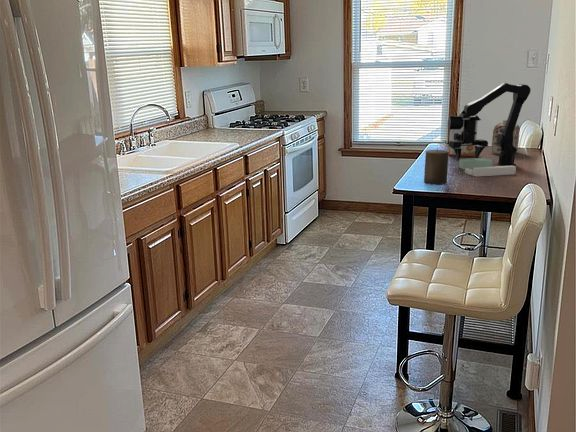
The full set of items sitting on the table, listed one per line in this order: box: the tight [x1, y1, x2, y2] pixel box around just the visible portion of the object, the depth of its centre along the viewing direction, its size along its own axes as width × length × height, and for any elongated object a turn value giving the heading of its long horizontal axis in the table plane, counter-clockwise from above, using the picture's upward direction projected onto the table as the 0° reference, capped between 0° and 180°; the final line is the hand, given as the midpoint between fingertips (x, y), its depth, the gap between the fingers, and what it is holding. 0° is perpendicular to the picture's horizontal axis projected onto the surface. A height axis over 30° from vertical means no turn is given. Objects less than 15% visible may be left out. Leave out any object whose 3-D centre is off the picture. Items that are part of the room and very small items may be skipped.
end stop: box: [464, 165, 517, 178], centre depth 264 cm, size 21×9×4 cm, turn 102°
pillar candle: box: [423, 147, 450, 186], centre depth 246 cm, size 10×10×15 cm
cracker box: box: [448, 118, 479, 157], centre depth 307 cm, size 14×6×21 cm, turn 72°
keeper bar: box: [458, 157, 493, 171], centre depth 276 cm, size 14×6×4 cm, turn 95°
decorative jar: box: [490, 119, 521, 155], centre depth 313 cm, size 12×12×18 cm
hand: (466, 160), depth 284 cm, fingers open, 9 cm apart
